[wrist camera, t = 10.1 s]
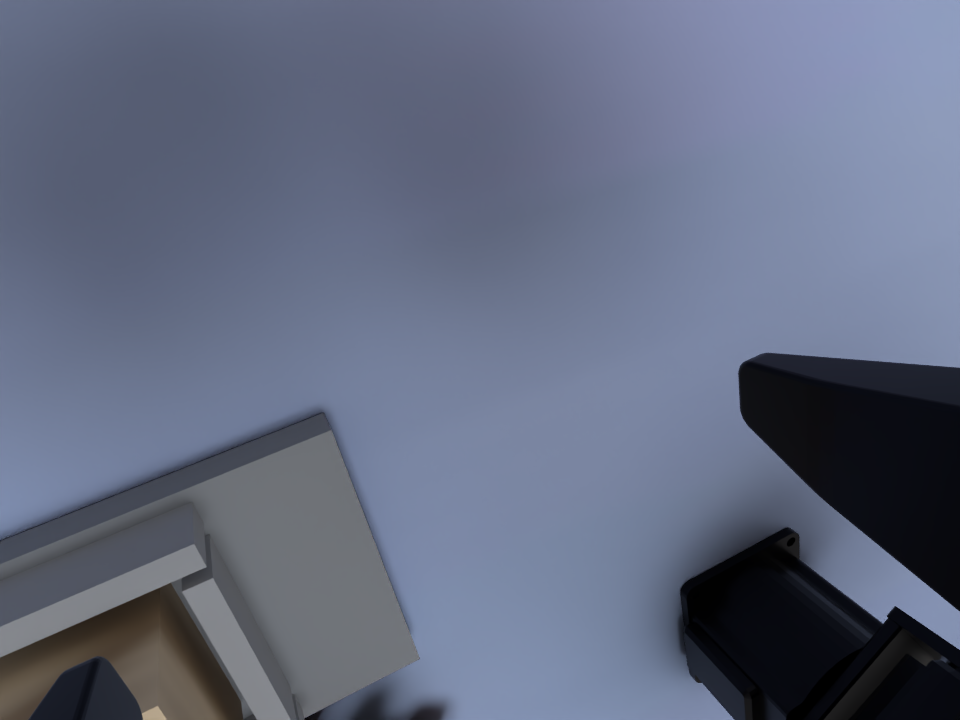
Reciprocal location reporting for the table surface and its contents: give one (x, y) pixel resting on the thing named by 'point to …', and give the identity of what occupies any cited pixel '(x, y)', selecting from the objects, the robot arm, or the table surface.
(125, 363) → the table surface
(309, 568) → the plate
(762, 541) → the robot arm
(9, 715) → the block
